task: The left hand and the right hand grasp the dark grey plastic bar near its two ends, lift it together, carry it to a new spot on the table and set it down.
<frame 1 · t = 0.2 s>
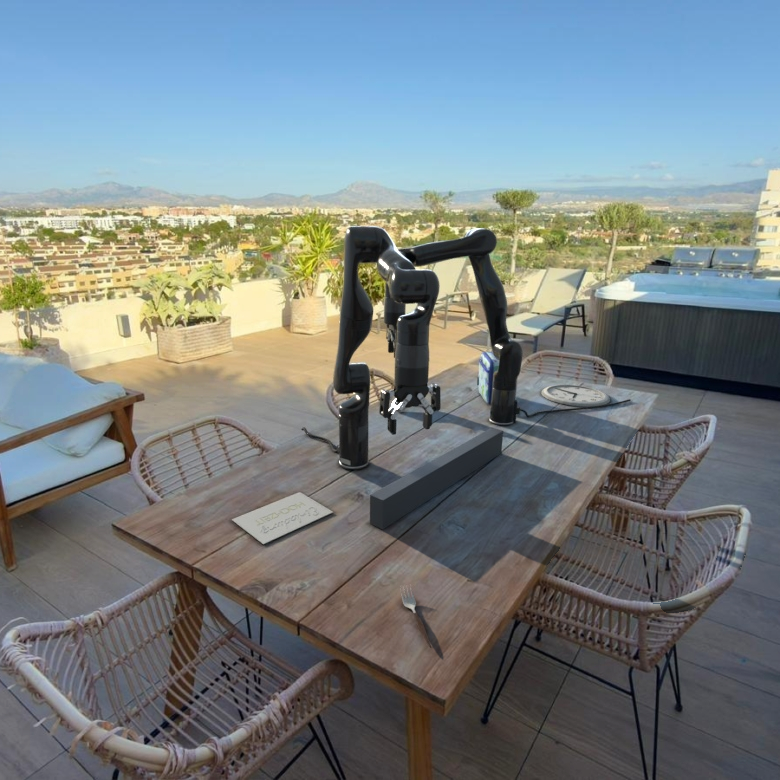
left hand: (409, 430, 120), 28 cm above the table, tool pointing down, fingers open, 8 cm apart
right hand: (393, 355, 187), 29 cm above the table, tool pointing down, fingers open, 8 cm apart
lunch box: (491, 399, 234), on the table
wall clock: (575, 396, 240), on the table
bar: (444, 483, 156), on the table
toy gun: (407, 408, 220), on the table
fork: (416, 620, 102), on the table
invitation card: (283, 516, 137), on the table
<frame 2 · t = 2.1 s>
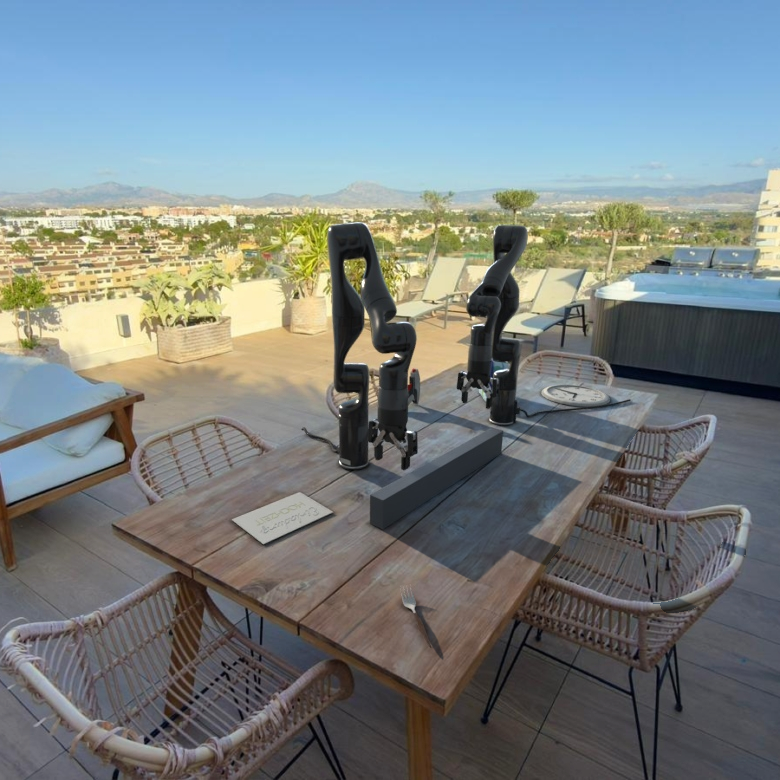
left hand: (391, 464, 133), 15 cm above the table, tool pointing down, fingers open, 8 cm apart
right hand: (476, 405, 172), 17 cm above the table, tool pointing down, fingers open, 8 cm apart
nothing on the table moved.
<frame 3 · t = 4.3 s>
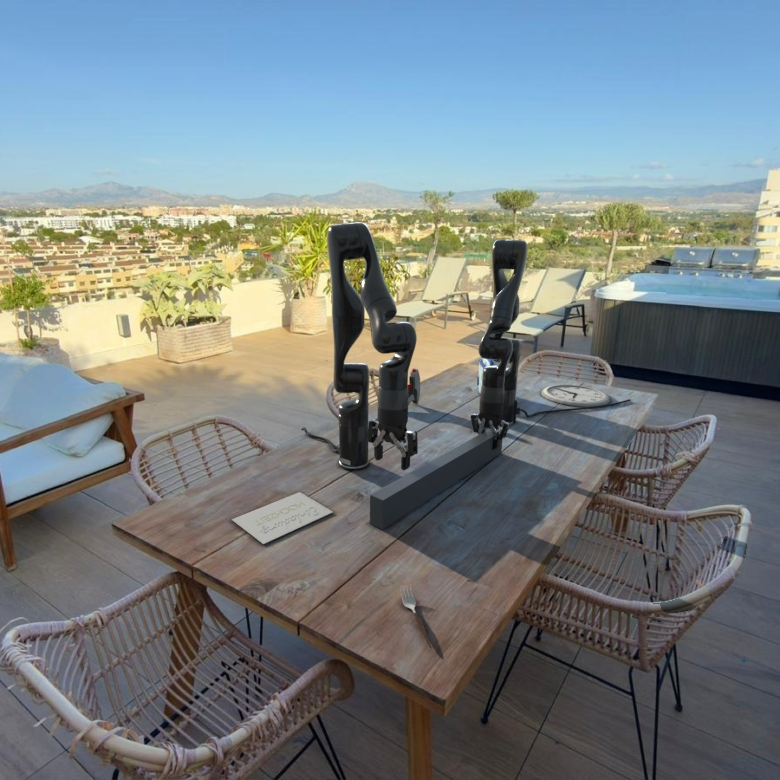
left hand: (391, 464, 133), 15 cm above the table, tool pointing down, fingers open, 8 cm apart
right hand: (488, 447, 174), 4 cm above the table, tool pointing down, fingers closed on bar, 4 cm apart
bar: (444, 483, 156), on the table, touching right hand
everything else where it was.
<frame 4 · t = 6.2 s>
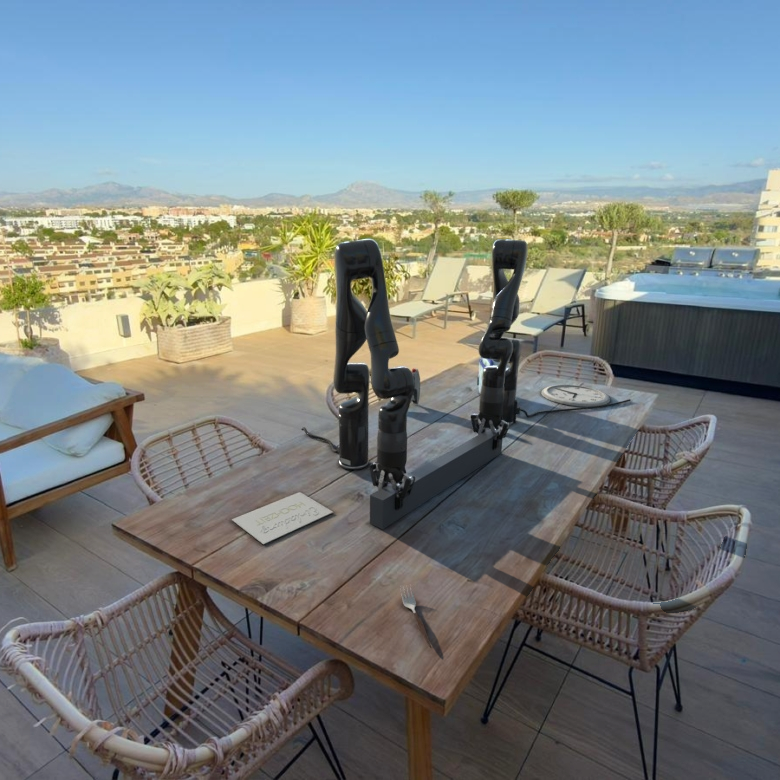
left hand: (390, 505, 136), 4 cm above the table, tool pointing down, fingers closed on bar, 4 cm apart
right hand: (488, 447, 174), 4 cm above the table, tool pointing down, fingers closed on bar, 4 cm apart
bar: (444, 483, 156), on the table, touching right hand, left hand
everything else where it was.
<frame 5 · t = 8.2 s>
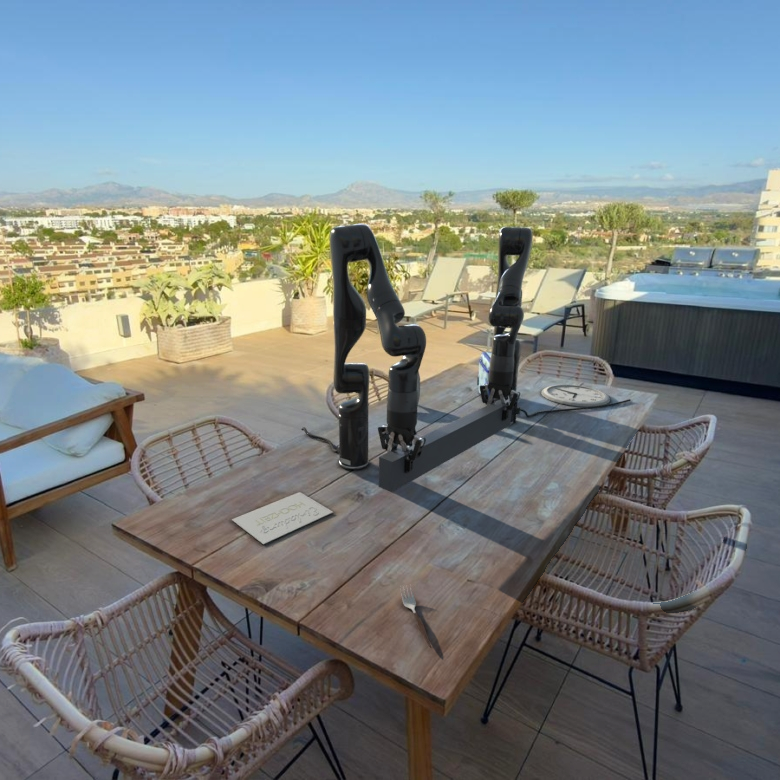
left hand: (400, 468, 133), 14 cm above the table, tool pointing down, fingers closed on bar, 4 cm apart
right hand: (497, 418, 171), 14 cm above the table, tool pointing down, fingers closed on bar, 4 cm apart
bar: (453, 451, 153), point 10 cm above the table, touching right hand, left hand
everything else where it was.
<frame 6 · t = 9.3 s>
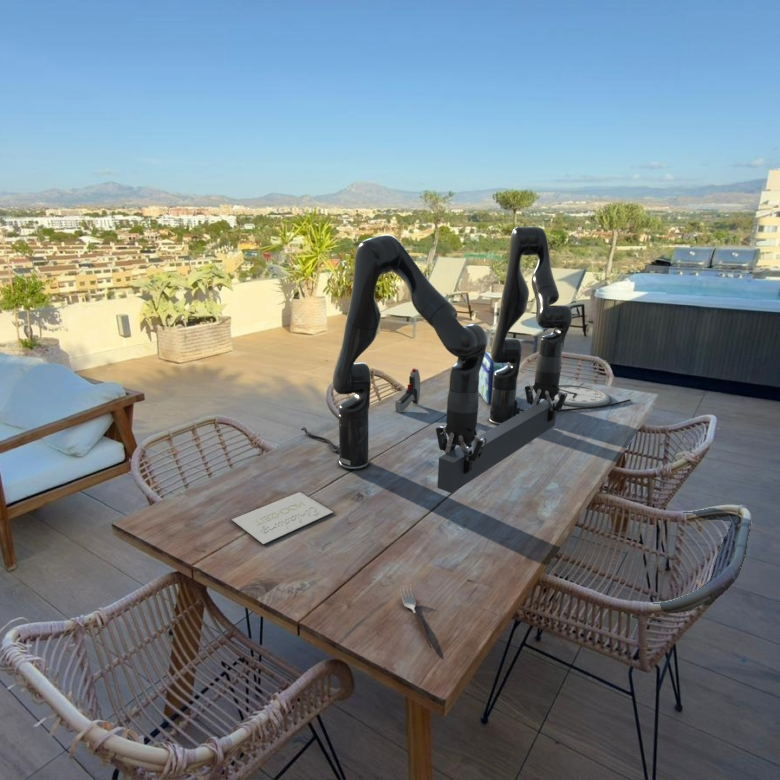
left hand: (458, 469, 133), 14 cm above the table, tool pointing down, fingers closed on bar, 4 cm apart
right hand: (542, 418, 170), 14 cm above the table, tool pointing down, fingers closed on bar, 4 cm apart
bar: (504, 452, 153), point 11 cm above the table, touching right hand, left hand
everything else where it was.
when the left hand's fingers open (5 cm above the table, at t = 12.3 s): bar drops 1 cm, on the table.
when the right hand's fingers open (5 cm above the table, at t = 12.3 s): bar drops 1 cm, on the table.
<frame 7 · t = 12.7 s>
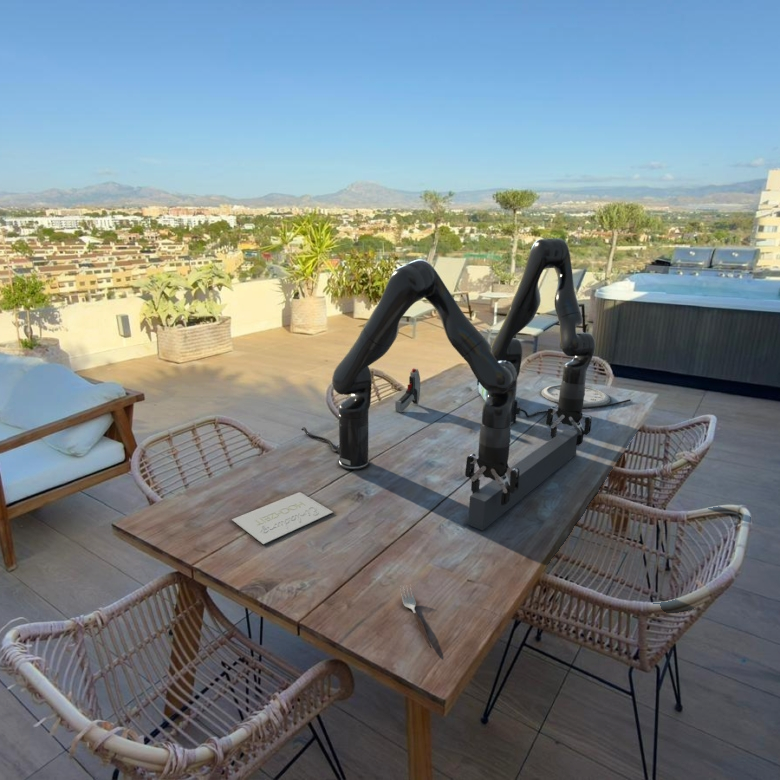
left hand: (489, 498, 135), 6 cm above the table, tool pointing down, fingers open, 8 cm apart
right hand: (565, 441, 173), 6 cm above the table, tool pointing down, fingers open, 8 cm apart
bar: (529, 484, 156), on the table
everything else where it was.
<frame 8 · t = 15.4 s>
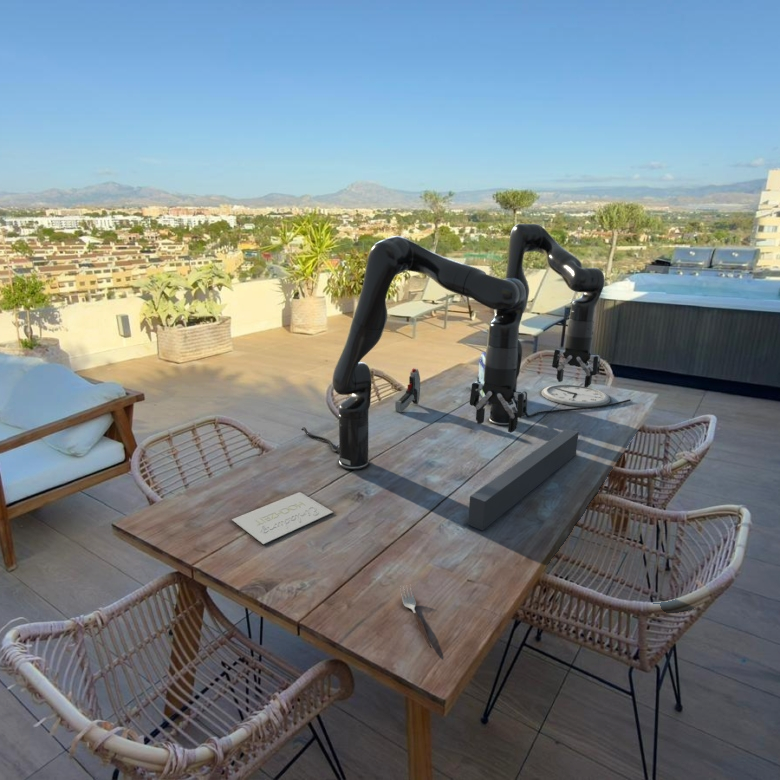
left hand: (495, 427, 129), 26 cm above the table, tool pointing down, fingers open, 8 cm apart
right hand: (573, 384, 167), 26 cm above the table, tool pointing down, fingers open, 8 cm apart
nothing on the table moved.
at the end: bar inside the target area (0.4 cm from its centre), on the table; bar tilted 0°; bar never tilted more than 1° during the clip; both hands held the bar at the same time; the left hand is holding nothing; the right hand is holding nothing; bar at rest at the end (0.0 cm/s) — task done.
